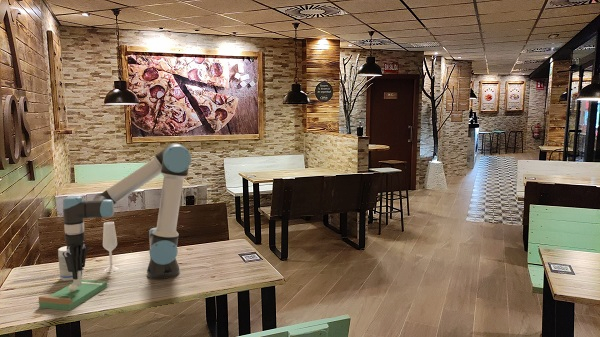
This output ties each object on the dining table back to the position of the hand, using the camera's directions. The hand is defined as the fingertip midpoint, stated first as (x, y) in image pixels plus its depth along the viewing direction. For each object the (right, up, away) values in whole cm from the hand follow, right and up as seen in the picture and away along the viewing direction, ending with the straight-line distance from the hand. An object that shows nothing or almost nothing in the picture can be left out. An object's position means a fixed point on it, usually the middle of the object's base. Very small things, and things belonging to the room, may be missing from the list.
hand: (77, 285), depth 188 cm
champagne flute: (+2, 0, +30) cm, 30 cm away
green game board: (0, -4, -2) cm, 5 cm away
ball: (-1, 0, -3) cm, 3 cm away
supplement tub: (-13, -2, +19) cm, 23 cm away
